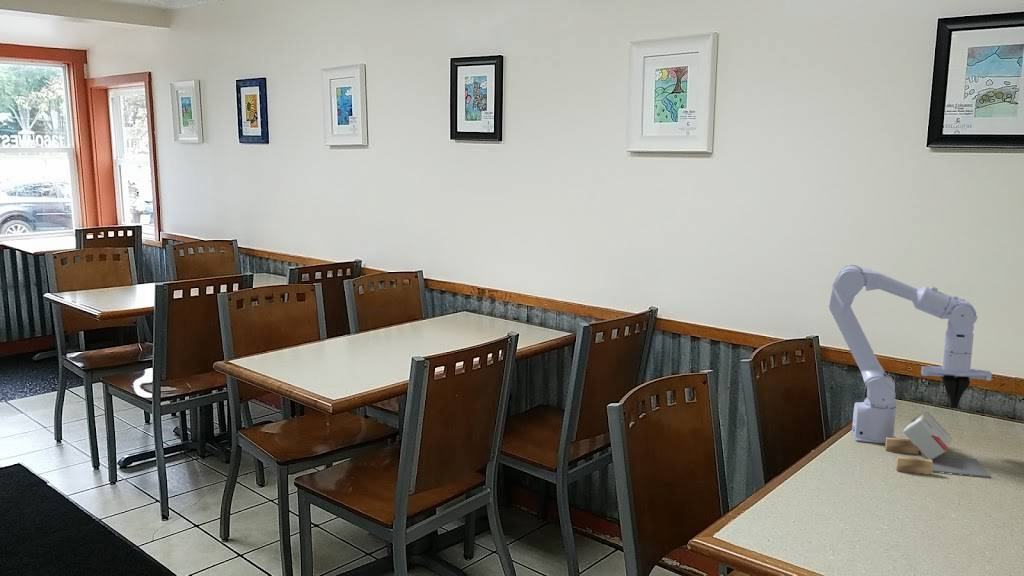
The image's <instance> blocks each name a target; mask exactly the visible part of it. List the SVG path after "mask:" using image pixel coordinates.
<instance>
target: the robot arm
mask: <svg viewBox="0 0 1024 576" xmlns="http://www.w3.org/2000/svg"><path fill="white" fill-rule="evenodd" d="M864 287H865V291H866V292H867V291H873V290H875V291H876V290H881V291H883V292H886V293H889V294H892V295H894V296H897V297H900V298H902V299H905V300H908V301H911V302H912V305H913V306H914V308H915V309H916V310H919V311H921V312H923V313H925V314H928V315H931V316H934V317H937V318H939V319H941V320H947V327H946V331H945V337H944V347H943V348H944V349H943V361H942V366H940V365H939V366H924V365H923V366H921V371H920V375H921V376H923V377H928V376H929V377H940V379H941V381H942V382H943V385H944V388H945V391H946V395H947V400H948V407H949V408H951V409H958V406H959V403H960V400H961V398H962V396H963V394H964V393H965V391H966V390H967V388H968V387H969V386H970V385H971V381H970V379H971V380H972V379H974V380H985V381H992V376H993V375H992V374H993V373H992V371H991V370H983V369H976V368H971V365H972V356H973V345H974V336H975V335H974V330H975V329H974V327H975V326H974V324H976V322H977V320H978V316H977V311H976V308H975V307H974V306H973V305H972V303H970V302H969V301H967V300H966V299H962V298H959V296H956V295H953V296H952V295H949V294H946V293H943V292H941V291H939V290H938V288H937V287H935V286H931V287H929V286H923V287H921V288H916V287H914V286H912V285H909V284H907V283H904V282H903V281H900V280H897V279H896V278H893V277H891V276H888V275H887V274H886V275H885V274H883V273H881V272H878V271H876V270H872V269H870V268H865V267H863V268H862V267H860V266H858V265H856V264H849V265H846V266H844V267H843V268H841V269H840V271H839V272H838V274H837V276H836V277H835V279H834V281H833V283H832V288H831V293H830V299H829V305H828V307H829V311H830V313H831V315H832V316H833V319H834V321H835V323H836V325H837V327H838V329H839V331H840V333H841V336H842V337H843V339H844V341H845V342H846V345H847V347H848V349H849V351H850V353H851V355H852V357H853V359H854V360H855V363H856V364H857V367H858V368H859V370H860V373H861V376H862V379H863V382H864V384H865V386H866V397H865V398H864V401H862V402H859V401H857V402H854V404H853V405H854V407H853V411H852V412H853V414H852V426H851V433H852V435H853V437H854V439H855V441H857V442H866V443H877V444H885V445H886V437H888V438H896V437H895V436H894V435H895V424H896V423H895V422H896V412H897V403H896V401H895V399H896V395H897V394H896V391H895V390H896V383H895V380H894V379H893V378H892V377H891V376H890V375H888V374H887V373H886V372H885V370H884V367H882V364H881V363H880V362H879V360H878V357H876V354H875V352H874V350H873V349H872V347H871V344H870V342H869V340H868V338H867V337H866V335H865V333H864V331H863V329H862V327H861V325H860V323H859V321H858V318H857V317H856V314H855V313H854V311H853V309H852V304H853V302H854V299H855V298H856V296H857V295H858V294H859V293H860V292H861V290H862V289H864Z"/></svg>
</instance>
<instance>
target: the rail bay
mask: <svg viewBox="0 0 1024 576" xmlns="http://www.w3.org/2000/svg"><path fill="white" fill-rule="evenodd" d="M884 448H885V451H886V452H893V453H902V454H904V453H905V454H913V455H919V452H920V451H919V450H918V448H917V447H916V446H915V445H914V444H913V443H912V442H911V440H910V439H909V438H908V439H907V438H896V437H895V438H888V437H886V444H885V446H884ZM895 463H896V465H895V470H896V471H897V472H900V471H902V473H910V472H915V473H914V474H920V473H927V474H926V475H929V474H933V472H932V466H933V461H932V460H928V459H923V458H917V457H907V456H898V455H897V456H896V462H895Z"/></svg>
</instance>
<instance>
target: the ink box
mask: <svg viewBox="0 0 1024 576" xmlns="http://www.w3.org/2000/svg"><path fill="white" fill-rule="evenodd" d="M902 433H904V435H905V436H906V437H907V438H908V439H909V440H911V442H912V443H913V444H914V445H915V446H916V447H917V448H918V450H919V452H920V454H921V453H922V454H923V455H924V456H925V458H926V459H928V460H932V459H934V458H936V457H937V456H939V455H943V454H944V453H946V452H947V451H948V448H949V446H950V443H951V442H952V435H951V434H950V433H949V432H948V431H947V430H946V429H945V428H944V427H943V426H942V424H941V423H939V422H938V420H936V419H935V416H933V415H932V414H931V413H930V412H929V411H928V410H926V409H925V410H924V411H922V412H921V413H919V414H918V415H916V416H915V417H914V418H912V419H911V420H910V422H909V423H908V424H907V426H906V427H905V428H904V429H903V432H902Z"/></svg>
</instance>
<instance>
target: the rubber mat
mask: <svg viewBox="0 0 1024 576" xmlns="http://www.w3.org/2000/svg"><path fill="white" fill-rule="evenodd" d="M921 455H922V456H921ZM920 456H921V457H922V459H923V458H924V459H926V458H925V456H924V455H923V454H922V453H921V452H920ZM932 461H933V466H932V471H934V472H933V473H936V472H944V473H943V474H945V473H952V474H951V475H955V474H962V475H961V476H965V475H972V476H971V477H975V476H978V477H977V478H985V477H986V478H985V479H987V478H988V479H991V477H992V476H991V475H990V473H989V472H988V471H987V470H986V469H985V467H984V466H983V465H982V464H981V463H980V461H978V459H977V458H972V457H964V456H963V457H961V456H952V455H943V454H941V455H939V456H937V457H936V458H934V459H932Z"/></svg>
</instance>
